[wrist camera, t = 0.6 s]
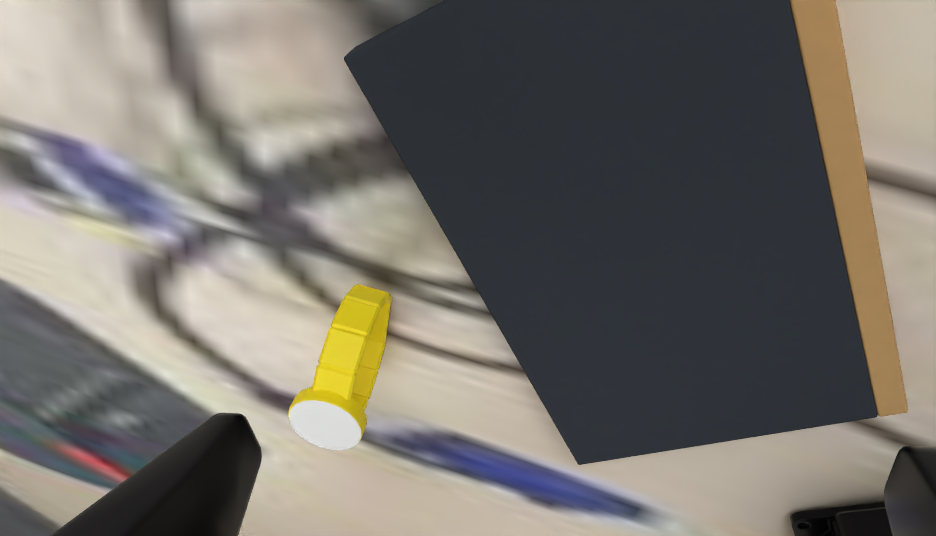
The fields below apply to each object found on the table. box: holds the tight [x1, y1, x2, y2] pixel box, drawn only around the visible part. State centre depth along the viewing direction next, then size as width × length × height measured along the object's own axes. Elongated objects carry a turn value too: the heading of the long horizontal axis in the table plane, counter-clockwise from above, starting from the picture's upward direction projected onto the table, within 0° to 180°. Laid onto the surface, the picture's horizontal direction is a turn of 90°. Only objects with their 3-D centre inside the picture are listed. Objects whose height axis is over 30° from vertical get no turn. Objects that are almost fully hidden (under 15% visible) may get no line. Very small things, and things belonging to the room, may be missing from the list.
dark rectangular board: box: [344, 0, 908, 465], centre depth 21 cm, size 20×13×1 cm, turn 27°
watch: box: [288, 284, 393, 450], centre depth 24 cm, size 6×3×6 cm, turn 169°
